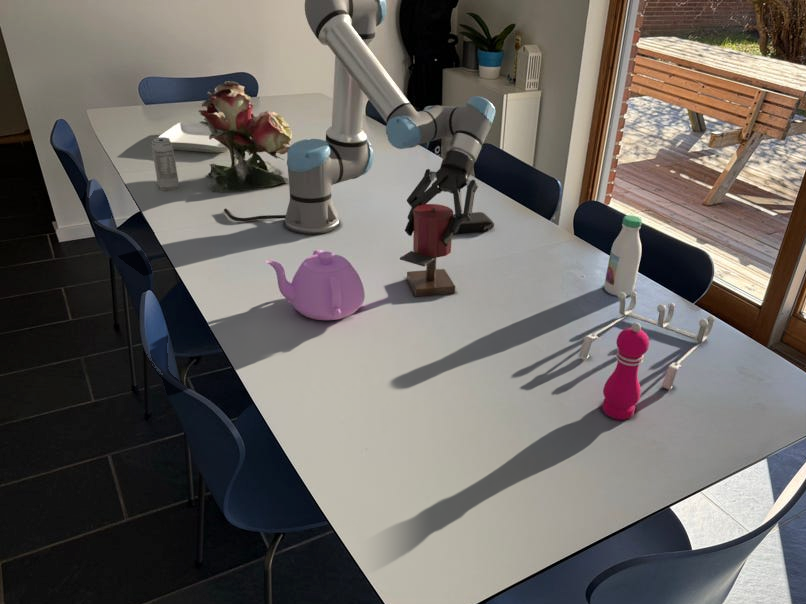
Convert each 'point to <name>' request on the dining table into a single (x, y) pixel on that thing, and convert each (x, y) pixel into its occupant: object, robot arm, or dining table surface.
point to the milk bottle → (624, 258)
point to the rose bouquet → (244, 139)
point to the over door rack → (702, 334)
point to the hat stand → (430, 281)
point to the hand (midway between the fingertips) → (426, 238)
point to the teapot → (322, 286)
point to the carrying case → (476, 223)
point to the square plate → (193, 138)
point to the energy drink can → (164, 163)
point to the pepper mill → (625, 374)
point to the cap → (429, 234)
